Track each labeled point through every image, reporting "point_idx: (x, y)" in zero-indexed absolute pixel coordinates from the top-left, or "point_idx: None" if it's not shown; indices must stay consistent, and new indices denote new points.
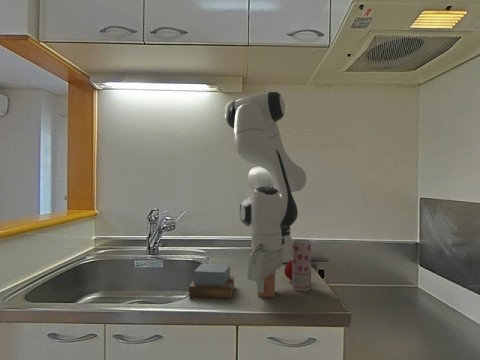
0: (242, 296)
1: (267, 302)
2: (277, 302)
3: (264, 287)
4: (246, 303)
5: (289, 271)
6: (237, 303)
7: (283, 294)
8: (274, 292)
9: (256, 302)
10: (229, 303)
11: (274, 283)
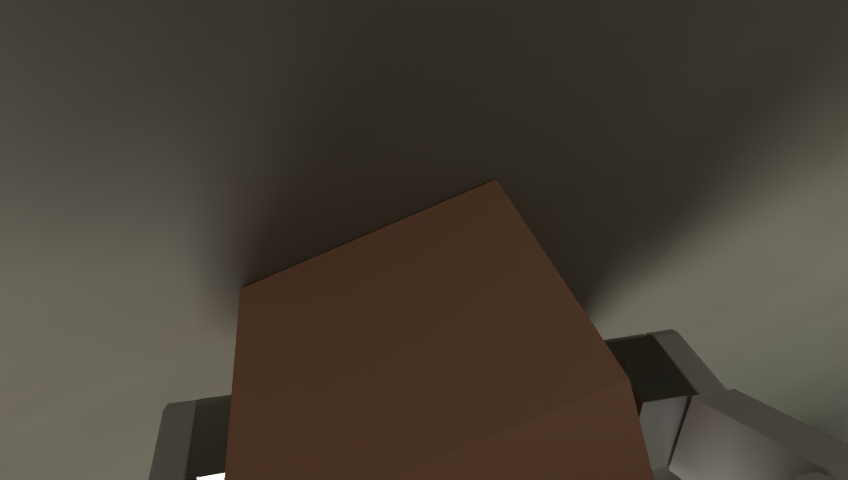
0: None
1: (760, 163)
2: (740, 34)
3: (668, 379)
4: (820, 334)
5: None
6: (826, 392)
7: (292, 108)
8: (522, 218)
9: (777, 271)
10: (831, 436)
11: (587, 324)
